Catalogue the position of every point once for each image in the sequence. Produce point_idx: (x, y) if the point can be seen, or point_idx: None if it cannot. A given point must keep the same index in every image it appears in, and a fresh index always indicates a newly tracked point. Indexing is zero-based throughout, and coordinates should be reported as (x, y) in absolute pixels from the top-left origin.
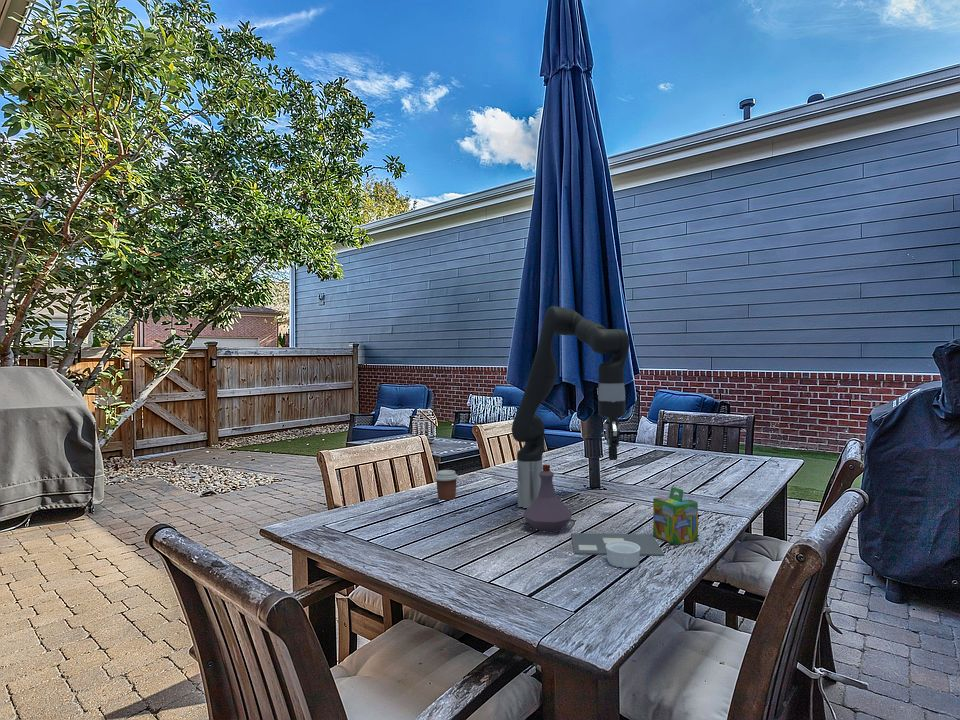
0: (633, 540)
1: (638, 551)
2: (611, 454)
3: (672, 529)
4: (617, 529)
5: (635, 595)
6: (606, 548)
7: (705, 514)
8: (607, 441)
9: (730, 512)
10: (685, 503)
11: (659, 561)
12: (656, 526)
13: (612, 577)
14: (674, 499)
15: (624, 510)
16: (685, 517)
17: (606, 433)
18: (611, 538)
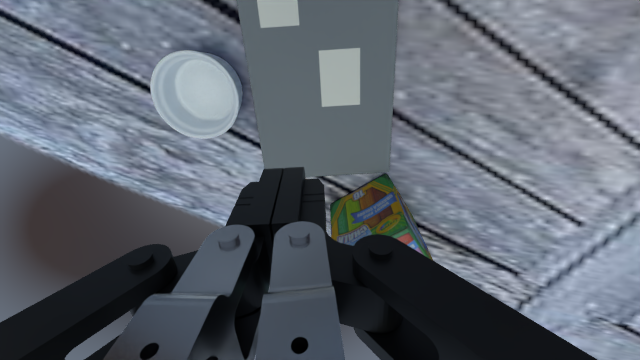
0: (345, 127)
1: (179, 131)
2: (238, 203)
3: (336, 220)
4: (439, 95)
5: (45, 97)
6: (174, 52)
7: (519, 284)
8: (353, 248)
9: None
10: None
11: (235, 164)
12: (379, 191)
13: (111, 56)
14: None
15: (603, 129)
16: None
17: (259, 353)
18: (355, 73)
